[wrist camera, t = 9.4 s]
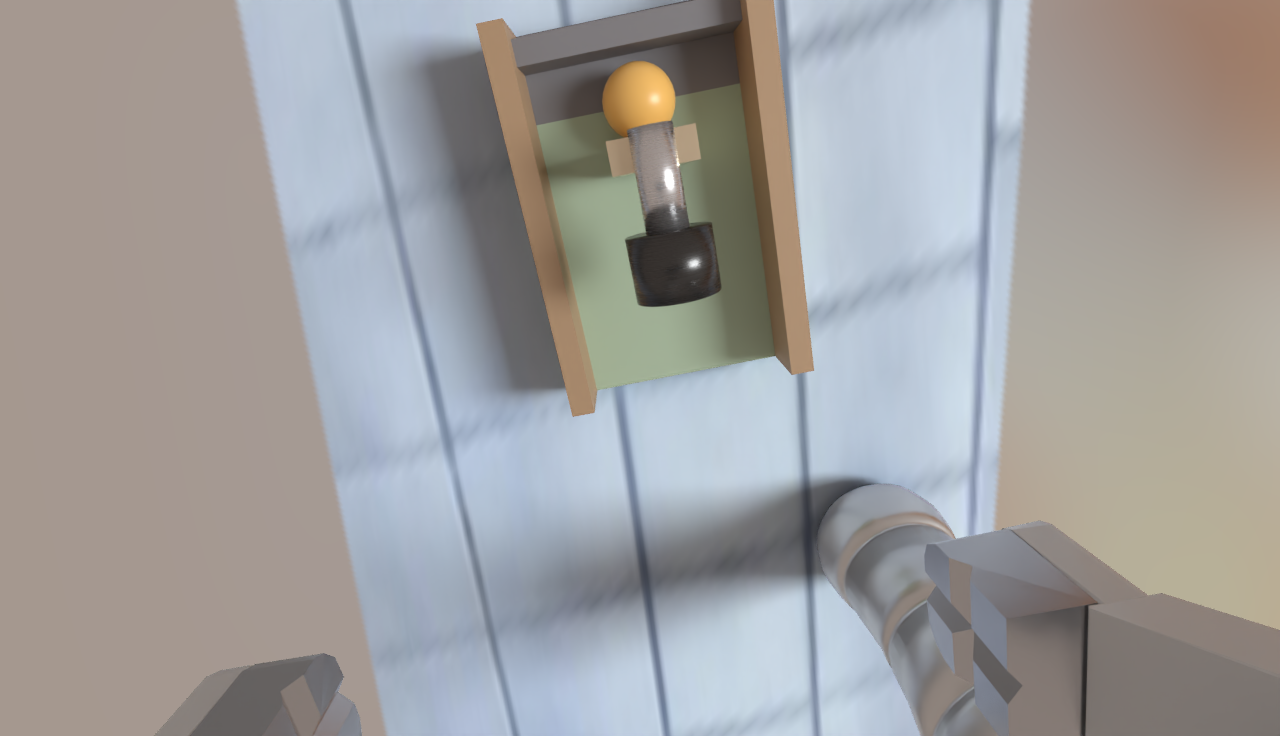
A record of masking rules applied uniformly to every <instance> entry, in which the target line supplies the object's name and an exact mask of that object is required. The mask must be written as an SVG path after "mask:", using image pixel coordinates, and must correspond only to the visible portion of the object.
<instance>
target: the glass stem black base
mask: <svg viewBox="0 0 1280 736" xmlns="http://www.w3.org/2000/svg"><path fill="white" fill-rule="evenodd" d="M627 134H628V137H625V138H621V139H616V140H611V141H606V147H607V152H608V157H609V162H610V167H611V172H612V177H614V178H616V177H621V176H626V175H631V174H635V177H636V182H637V188H638V193H639V198H640V204H641V209H642V214H643V220H644V225H645V231H646V232H643V233H639V234H636V235H633V236H630V237H627V238H626V239H625V243H626V248H627V253H628V258H629V263H630V269H631V274H632V279H633V284H634V289H635V294H636V299H637V304H638V305H640V306H644V307H662V306H671V305H678V304H683V303H688V302H692V301H696V300H700V299H703V298H706V297H709V296H712V295H714V294H716V293H718V292H719V291H721V289H722V285H721V279H720V272H719V265H718V259H717V252H716V246H715V239H714V233H713V226H712V222H695V223H689V218H688V212H687V206H686V200H685V194H684V188H683V182H682V176H681V170H680V164H685V163H689V162H692V161H696V160H699V159H701V155H700V149H699V142H698V135H697V129H696V123H693V124H689V125H684V126H679V127H673V121H662V122H656V123H651V124H647V125H642V126H638V127H634V128H631V129H628V130H627Z"/></svg>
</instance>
